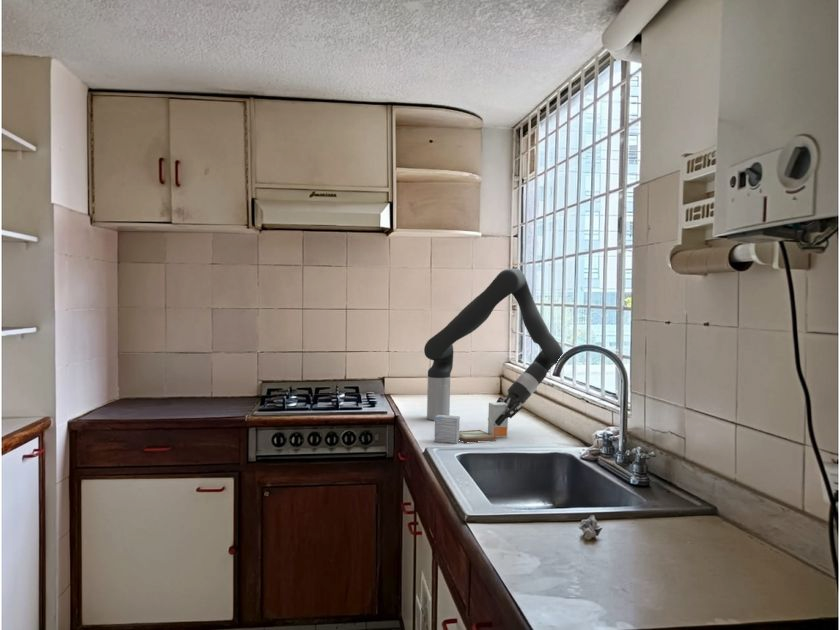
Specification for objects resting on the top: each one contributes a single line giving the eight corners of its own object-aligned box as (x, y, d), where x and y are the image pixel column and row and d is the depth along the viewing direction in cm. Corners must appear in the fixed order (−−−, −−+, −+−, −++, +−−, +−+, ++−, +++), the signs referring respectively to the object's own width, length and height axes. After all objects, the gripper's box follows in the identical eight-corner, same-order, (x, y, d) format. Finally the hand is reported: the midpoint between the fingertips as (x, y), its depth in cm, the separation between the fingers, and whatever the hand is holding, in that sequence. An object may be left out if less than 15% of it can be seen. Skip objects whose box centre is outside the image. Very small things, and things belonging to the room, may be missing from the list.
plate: (449, 435, 219) (450, 431, 219) (479, 433, 223) (480, 429, 223) (464, 443, 208) (464, 438, 208) (496, 441, 212) (496, 436, 212)
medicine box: (459, 441, 211) (460, 416, 211) (456, 444, 207) (457, 418, 207) (437, 439, 213) (437, 414, 213) (434, 442, 209) (434, 416, 209)
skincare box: (492, 438, 216) (492, 404, 216) (487, 435, 220) (488, 402, 220) (508, 437, 218) (508, 403, 218) (503, 435, 222) (503, 402, 222)
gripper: (507, 378, 228) (477, 412, 224) (527, 383, 215) (496, 419, 211) (519, 392, 230) (489, 425, 226) (540, 397, 217) (509, 433, 213)
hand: (493, 422), depth 218 cm, fingers closed on skincare box, 4 cm apart
